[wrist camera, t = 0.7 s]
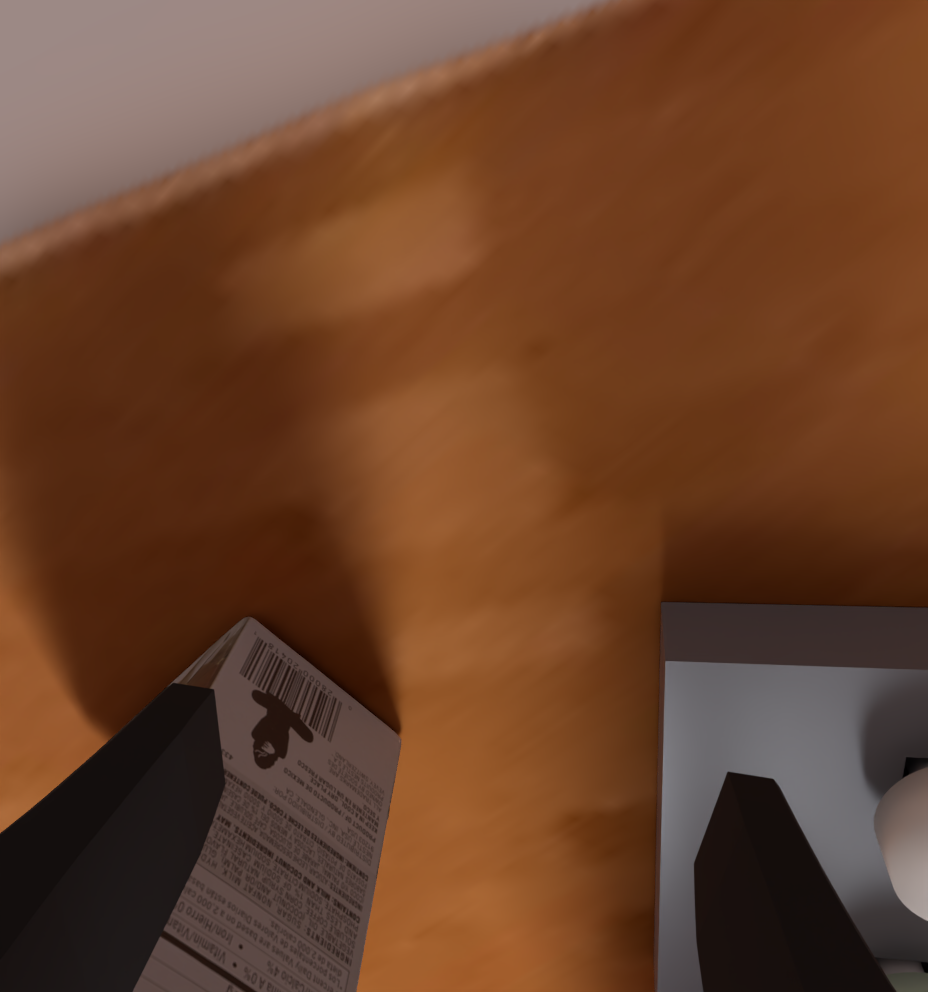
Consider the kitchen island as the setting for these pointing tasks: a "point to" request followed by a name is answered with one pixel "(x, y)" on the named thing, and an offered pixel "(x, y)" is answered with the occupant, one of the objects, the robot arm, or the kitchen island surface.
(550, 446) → the kitchen island surface
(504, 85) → the kitchen island surface
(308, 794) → the coffee box
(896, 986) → the sage button
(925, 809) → the cream button
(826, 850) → the button panel
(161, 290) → the kitchen island surface
